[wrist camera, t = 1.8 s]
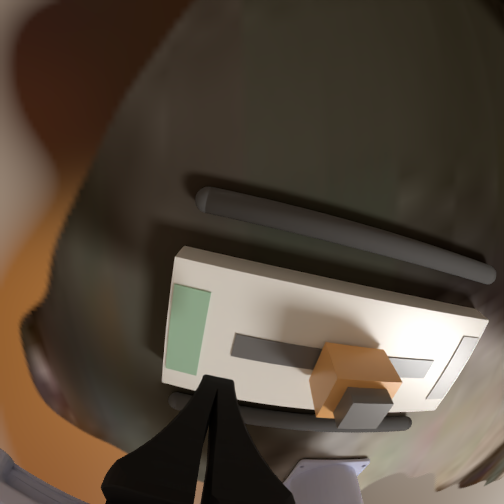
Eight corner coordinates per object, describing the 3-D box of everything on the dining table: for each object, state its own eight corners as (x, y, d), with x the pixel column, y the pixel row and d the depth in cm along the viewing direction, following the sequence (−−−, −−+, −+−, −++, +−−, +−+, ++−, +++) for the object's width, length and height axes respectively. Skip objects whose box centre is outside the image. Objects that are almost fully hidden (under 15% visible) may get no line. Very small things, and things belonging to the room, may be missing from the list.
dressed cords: (404, 422, 22) (408, 432, 20) (170, 398, 21) (166, 410, 19) (491, 264, 17) (501, 271, 15) (200, 183, 16) (195, 185, 14)
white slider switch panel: (426, 395, 20) (435, 410, 18) (169, 364, 19) (161, 383, 17) (475, 308, 18) (489, 321, 16) (184, 245, 17) (174, 257, 15)
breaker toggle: (364, 385, 17) (383, 433, 13) (308, 379, 17) (319, 433, 13) (383, 349, 16) (410, 396, 12) (325, 341, 16) (342, 394, 12)
